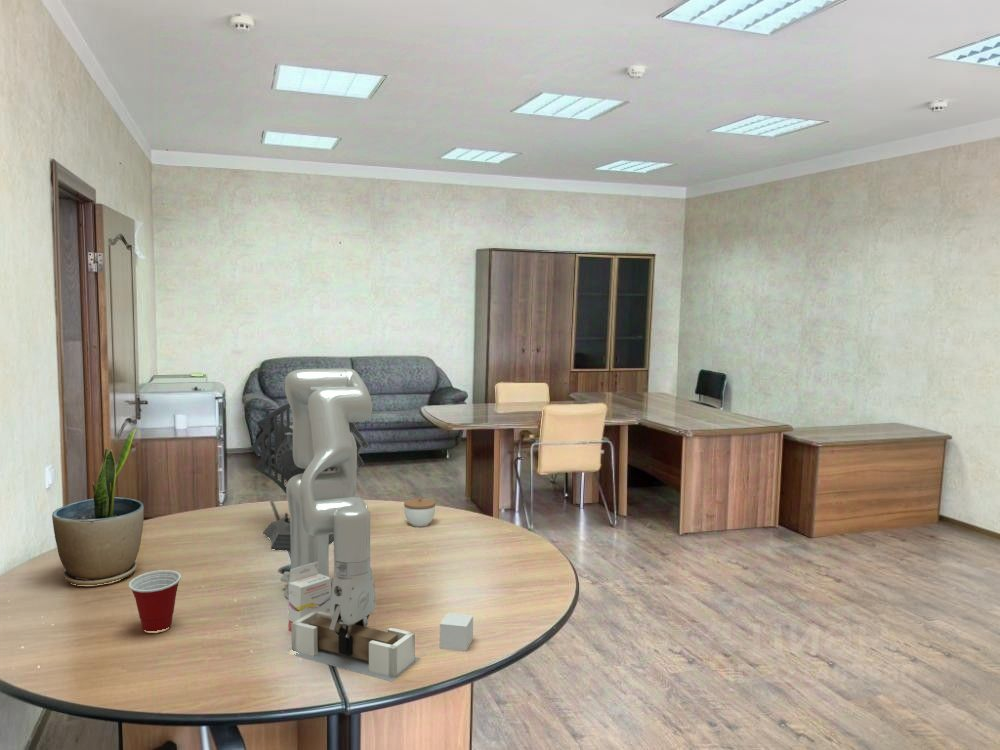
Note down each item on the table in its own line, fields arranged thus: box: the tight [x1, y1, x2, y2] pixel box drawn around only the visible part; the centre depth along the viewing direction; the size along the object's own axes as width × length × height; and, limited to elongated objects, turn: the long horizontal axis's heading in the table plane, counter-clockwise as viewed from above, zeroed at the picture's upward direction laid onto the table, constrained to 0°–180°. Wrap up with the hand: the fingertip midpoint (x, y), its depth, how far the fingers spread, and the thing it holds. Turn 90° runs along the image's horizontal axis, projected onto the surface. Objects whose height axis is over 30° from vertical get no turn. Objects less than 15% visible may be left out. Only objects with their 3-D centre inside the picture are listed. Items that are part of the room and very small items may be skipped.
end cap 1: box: [290, 610, 331, 656], centre depth 162 cm, size 6×8×6 cm
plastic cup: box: [128, 569, 182, 631], centre depth 169 cm, size 11×11×12 cm
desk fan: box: [250, 402, 369, 552], centre depth 240 cm, size 34×33×45 cm
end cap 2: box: [369, 627, 416, 677], centre depth 153 cm, size 6×8×6 cm
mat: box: [293, 648, 421, 682], centre depth 158 cm, size 27×11×1 cm, turn 65°
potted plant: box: [51, 428, 145, 585], centre depth 199 cm, size 21×22×40 cm
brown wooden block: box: [309, 616, 398, 661], centre depth 157 cm, size 20×4×5 cm, turn 65°
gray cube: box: [439, 612, 474, 652], centre depth 164 cm, size 6×6×6 cm
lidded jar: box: [403, 496, 436, 528], centre depth 255 cm, size 11×11×9 cm
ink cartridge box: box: [288, 562, 332, 632], centre depth 171 cm, size 9×5×15 cm, turn 141°
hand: (352, 648), depth 158 cm, fingers closed on brown wooden block, 3 cm apart
